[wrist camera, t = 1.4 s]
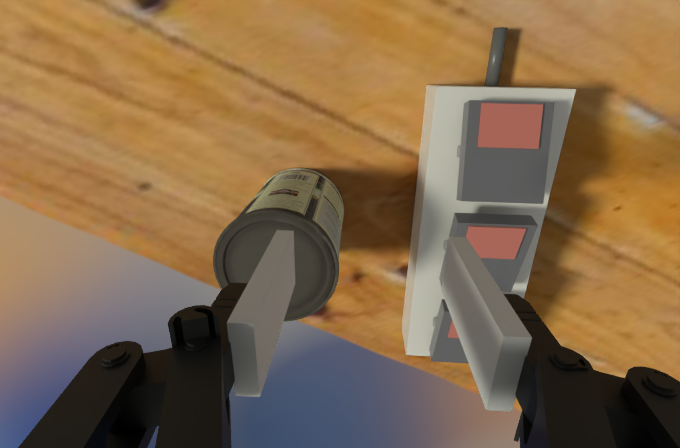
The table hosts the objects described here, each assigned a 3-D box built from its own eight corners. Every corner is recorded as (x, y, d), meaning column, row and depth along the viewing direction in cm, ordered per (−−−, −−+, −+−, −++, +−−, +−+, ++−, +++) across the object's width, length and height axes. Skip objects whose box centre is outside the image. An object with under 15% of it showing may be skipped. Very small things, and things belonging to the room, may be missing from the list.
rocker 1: (441, 299, 37) (444, 313, 36) (510, 302, 37) (516, 316, 36) (429, 348, 42) (431, 362, 41) (490, 352, 42) (494, 366, 41)
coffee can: (284, 262, 45) (254, 337, 32) (241, 190, 42) (187, 241, 29) (359, 230, 43) (359, 297, 30) (320, 151, 40) (301, 188, 27)
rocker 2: (463, 103, 32) (470, 99, 30) (544, 105, 32) (556, 101, 30) (456, 199, 33) (462, 201, 31) (534, 202, 33) (544, 204, 31)
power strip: (432, 28, 35) (447, 19, 29) (563, 30, 34) (605, 21, 28) (401, 327, 48) (407, 363, 42) (495, 332, 47) (514, 368, 42)
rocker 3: (454, 212, 34) (458, 224, 32) (531, 215, 33) (538, 227, 32) (439, 278, 39) (442, 290, 37) (505, 281, 38) (511, 293, 37)
